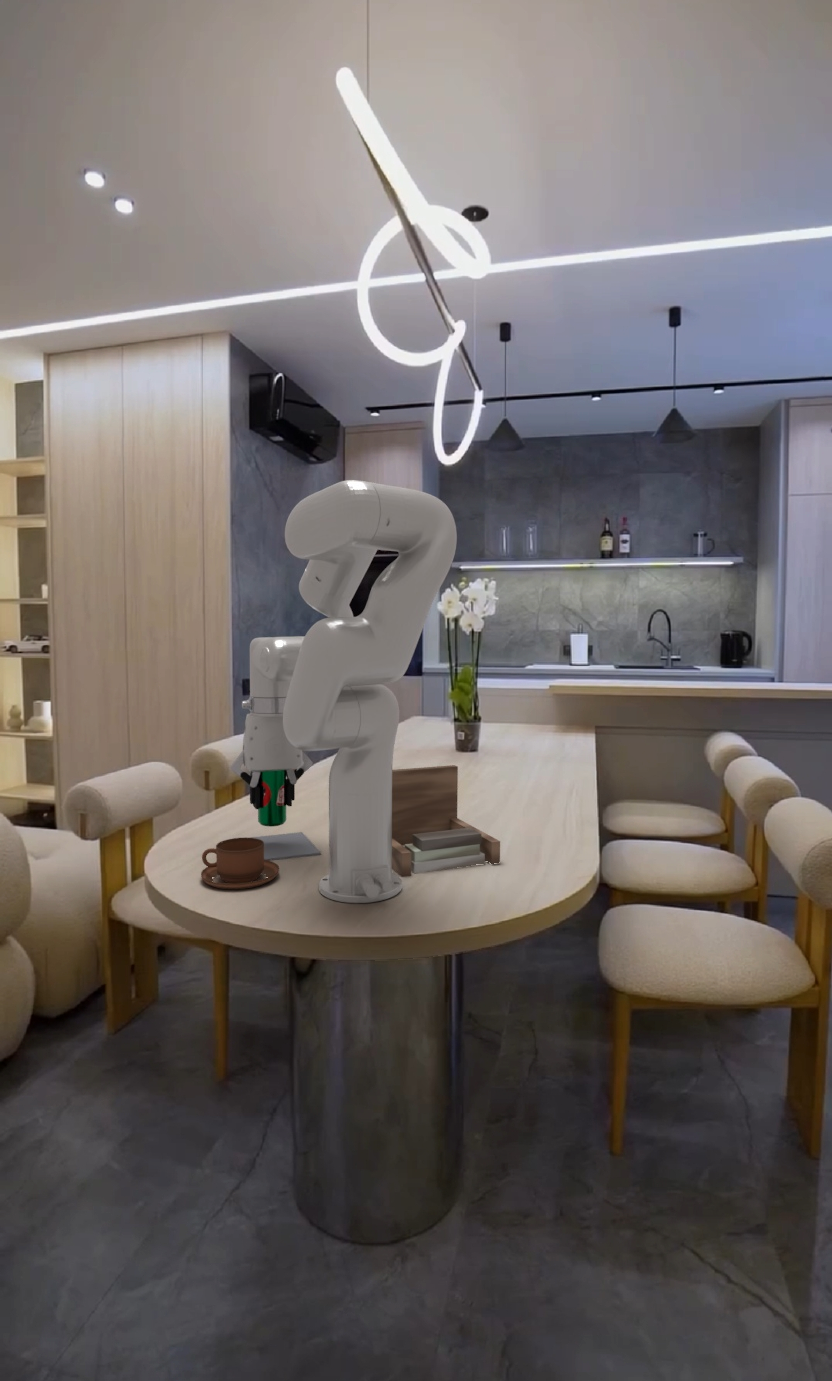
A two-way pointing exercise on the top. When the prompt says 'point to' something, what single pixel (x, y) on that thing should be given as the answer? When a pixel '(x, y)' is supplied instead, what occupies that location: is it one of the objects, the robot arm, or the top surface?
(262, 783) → the soda can
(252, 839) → the cup and saucer
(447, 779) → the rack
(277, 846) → the mat
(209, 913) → the top surface
